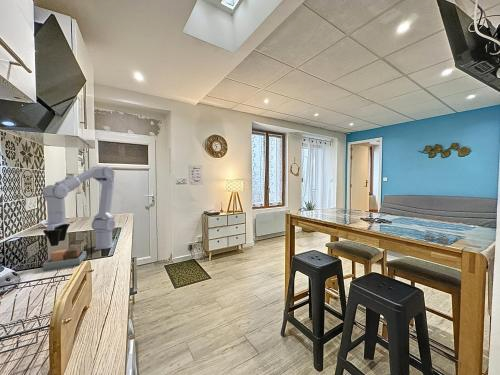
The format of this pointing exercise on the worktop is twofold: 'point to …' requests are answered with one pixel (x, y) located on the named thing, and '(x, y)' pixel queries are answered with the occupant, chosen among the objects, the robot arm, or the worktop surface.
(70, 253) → the walnut block
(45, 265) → the slate tray
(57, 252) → the terracotta block
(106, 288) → the worktop surface
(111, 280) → the worktop surface
